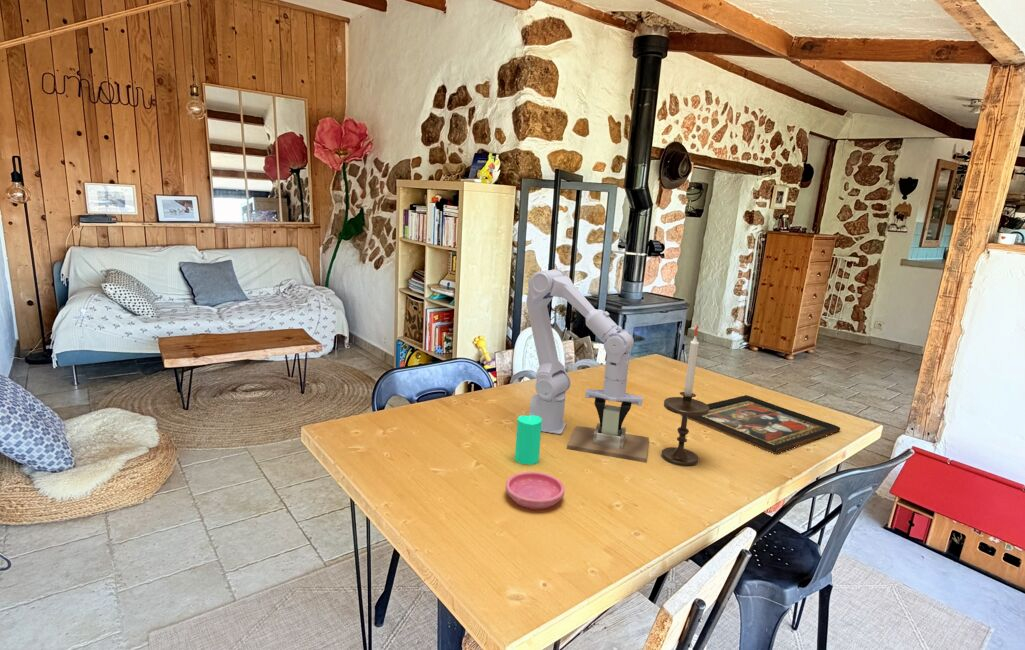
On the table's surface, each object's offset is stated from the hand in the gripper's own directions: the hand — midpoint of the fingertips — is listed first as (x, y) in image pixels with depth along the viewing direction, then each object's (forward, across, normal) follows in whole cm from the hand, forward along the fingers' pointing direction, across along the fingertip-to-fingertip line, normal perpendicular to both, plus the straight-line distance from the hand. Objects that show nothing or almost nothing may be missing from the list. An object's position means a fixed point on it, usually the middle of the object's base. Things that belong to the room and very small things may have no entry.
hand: (610, 427), depth 146 cm
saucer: (+5, -12, -34) cm, 36 cm away
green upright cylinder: (+5, -18, -17) cm, 25 cm away
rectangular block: (+3, 0, 0) cm, 3 cm away
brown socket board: (+5, 0, 0) cm, 5 cm away
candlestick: (+5, +18, -1) cm, 19 cm away
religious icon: (+6, +42, +35) cm, 54 cm away
